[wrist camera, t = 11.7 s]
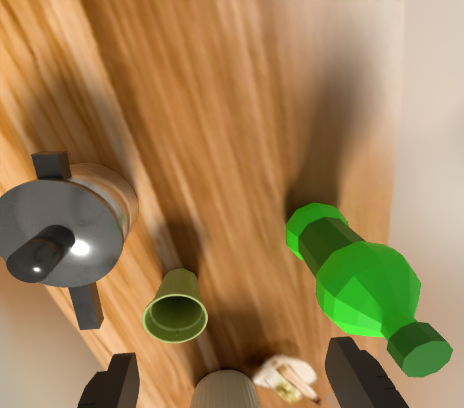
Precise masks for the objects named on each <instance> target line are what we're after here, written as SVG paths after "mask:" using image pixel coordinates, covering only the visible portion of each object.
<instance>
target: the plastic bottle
mask: <svg viewBox="0 0 464 408" xmlns="http://www.w3.org/2000/svg"><path fill="white" fill-rule="evenodd" d="M286 244H287V246H288V247H289V248H290V249H291V250H292V251H293V252H294V253H295V255H296V256H297V257H298V258H299V259H301V260H303V261H305V262H306V264H307V265H308V267H309V269H310V270H311V272H312V273H313V275H314V276H315V278H316V297H317V300H318V304H319V305H320V307H321V309H322V310H323V312H324V313H325V314H326V315H327V316H328V317H329V318H330V319H331V320H332V321H333V322H334V323H335V324H336V325H337V326H338V327H340V328H341V329H342V330H343V331H345V332H346V333H347V334H354V335H362V336H373V337H385V338H386V340H387V341H388V345H387V351H388V352H389V354H390V355H391V356H392V357H393V359H394V360H395V362H396V363H397V364H398V365H399V367H400V368H401V370H402V371H403V372H404V373H405V374H406V375H407V376H408V377H424V376H427V375H429V374H432V373H435V372H437V371H438V370H440V369H441V368H442V367H443V366H444V365H445V364H446V363H448V361H449V360H450V357H451V354H452V351H453V349H452V348H451V347H450V345H449V344H448V342H447V341H446V340H445V339H444V338H443V337H442V336H441V335H440V334H439V333H438V332H437V331H436V330H434V329H433V328H432V327H431V326H430V325H429V324H428V323H422V322H417V320H416V319H414V316H415V312H416V308H417V304H418V299H419V293H420V287H421V283H420V281H419V279H418V277H417V275H416V274H415V272H414V271H413V270H412V268H411V267H410V265H409V264H408V263H407V261H406V260H405V258H404V257H403V256H402V255H401V254H400V253H398V252H397V251H396V250H394V249H393V248H390V247H388V246H386V245H383V244H377V243H370V242H366V241H365V240H364V239H362V238H361V237H360V236H359V235H358V234H356V233H355V232H354V231H353V230H352V229H351V228H349V225H348V222H347V220H346V219H345V218H344V217H343V215H342V214H341V213H340V212H339V210H338V209H337V208H336V207H334V206H332V205H326V204H320V203H310V204H308V205H306V206H304V207H301V208H299V209H297V210H296V211H295V212H294V214H293V215H292V216H291V218H290V219H289V221H288V222H287V224H286Z"/></svg>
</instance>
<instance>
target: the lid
mask: <svg viewBox="0 0 464 408" xmlns="http://www.w3.org/2000/svg"><path fill="white" fill-rule="evenodd" d="M123 246H124V231H123V227H122V224H121V221H120V219H119V217H118V215H117V213H116V212H115V210H114V209H113V208H112V206H111V205H110V204H109V203H108V202H107V201H106V200H105V199H104V198H103V197H102V196H100V195H99V194H98V193H96V192H95V191H93V190H92V189H90V188H88V187H86V186H84V185H81V184H79V183H76V182H73V181H69V180H65V179H58V178H42V179H36V180H31V181H28V182H26V183H23V184H21V185H19V186H16V187H14V188H12V189H11V190H9V191H7V192H6V193H5V194H3V195H2V196H1V197H0V256H1V257H2V258H3V259H4V260H5V261H6V265H7V268H8V271H9V272H10V273H11V274H12V275H13V276H14V277H15V278H17V279H19V280H21V281H24V282H28V283H36V282H39V283H42V284H46V285H50V286H55V287H79V286H84V285H87V284H90V283H93V282H95V281H97V280H99V279H101V278H103V277H104V276H105V275H107V274H108V273H109V272H110V271H111V270H112V268H113V267H114V266H115V264H116V263H117V261H118V259H119V257H120V255H121V253H122V250H123Z"/></svg>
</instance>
